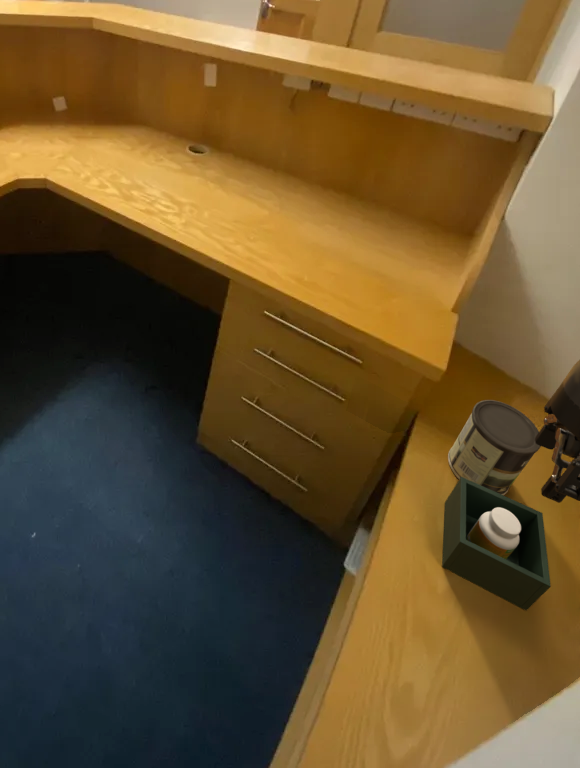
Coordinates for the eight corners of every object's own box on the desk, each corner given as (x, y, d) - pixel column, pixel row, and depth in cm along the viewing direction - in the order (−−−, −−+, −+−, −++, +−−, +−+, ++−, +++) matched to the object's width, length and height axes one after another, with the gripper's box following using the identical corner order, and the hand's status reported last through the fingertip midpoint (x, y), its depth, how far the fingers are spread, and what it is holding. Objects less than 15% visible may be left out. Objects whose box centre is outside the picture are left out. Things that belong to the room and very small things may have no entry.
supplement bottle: (496, 577, 81) (521, 547, 76) (460, 548, 85) (481, 519, 80) (506, 551, 84) (531, 521, 79) (471, 525, 88) (492, 495, 83)
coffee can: (511, 464, 98) (543, 420, 90) (506, 509, 91) (540, 465, 83) (451, 433, 103) (477, 389, 96) (442, 474, 96) (469, 430, 89)
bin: (520, 538, 87) (542, 512, 82) (526, 611, 78) (550, 586, 74) (444, 502, 92) (461, 476, 87) (441, 566, 83) (460, 541, 78)
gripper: (655, 460, 57) (587, 532, 65) (626, 368, 67) (571, 441, 76) (572, 428, 60) (518, 501, 68) (557, 346, 70) (511, 418, 79)
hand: (546, 469), depth 72 cm, fingers open, 8 cm apart
